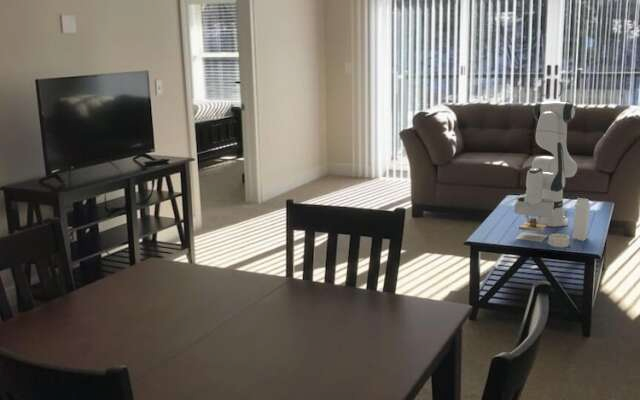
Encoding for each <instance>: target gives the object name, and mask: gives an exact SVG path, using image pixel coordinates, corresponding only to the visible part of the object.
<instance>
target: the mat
mask: <svg viewBox="0 0 640 400" xmlns="http://www.w3.org/2000/svg"><path fill="white" fill-rule="evenodd" d="M547 237H549V235H547V234H541V233H540V234H539V233H533V232H525V231H524V232H523V231H522V232H521V233H519V234H518V235H517V236H516V237H515V239H518V240H526V241H532V242H540V243H542V242H543V241H544V240H545V239H546V238H547Z"/></svg>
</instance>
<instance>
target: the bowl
mask: <svg viewBox="0 0 640 400" xmlns="http://www.w3.org/2000/svg"><path fill="white" fill-rule="evenodd" d="M570 241H571V236H569V235H567V234H562V233H551V234H549V235H548V245H550V246H551V247H555V248H567V247H569V246H570Z"/></svg>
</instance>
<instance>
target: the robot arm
mask: <svg viewBox="0 0 640 400" xmlns="http://www.w3.org/2000/svg"><path fill="white" fill-rule="evenodd" d="M532 113H533V114H532V115H533V118H534V119H535V120H536V121H537V124H536V130H535V142H536V145H538V146H539V147H540V148H541V149H543V150H546V151H548V152H549V153H551V154H552V155H553V156H551V155H550V156H549V155H539V156H535V158H534V159H533V160H532V162H531V168H529V169H528V170H527V172H526V181H525V186H526V190H525V193H524V194H520V195H519V196H517V198H516V202H515V203H514V207H513V213H514V214H515V215H523V216H524V218H526V222H527V223H530V216H533V217H536V219H537V220H536V224H539V223H542V224H547V227H565V226H568V223H569V218H567V217H566V216H565V209H564V200H563V193H564V192H563V191H564V188H566V187H565V186H566V178H572V177H574V176H575V175H576V174H577V171H578V163H577V162H576V161H575V160H574V159H573V158H572V157H571V155H570V153H569V150H568V147H567V134H568V123H569V122H571V121H572V120H573V119H574V117H575V115H576V109H575V105H574V104H573V103H572V102H568V101H566V102H564V101H558V100H556V101H555V100H554V101H538V102H536V103H535V104H534V106H533V109H532Z"/></svg>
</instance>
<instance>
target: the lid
mask: <svg viewBox="0 0 640 400" xmlns="http://www.w3.org/2000/svg"><path fill="white" fill-rule="evenodd" d="M529 219H530V223H527V221H523V223H522V224H521V225H520V226H519V227H518V230H522V231H523V230H524V231H530V232H540V233H542V232H543V231H544V230H545V229H546V228H547V227H548V226H547V224H542V223H539V224H536V220H537V217H529Z"/></svg>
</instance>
